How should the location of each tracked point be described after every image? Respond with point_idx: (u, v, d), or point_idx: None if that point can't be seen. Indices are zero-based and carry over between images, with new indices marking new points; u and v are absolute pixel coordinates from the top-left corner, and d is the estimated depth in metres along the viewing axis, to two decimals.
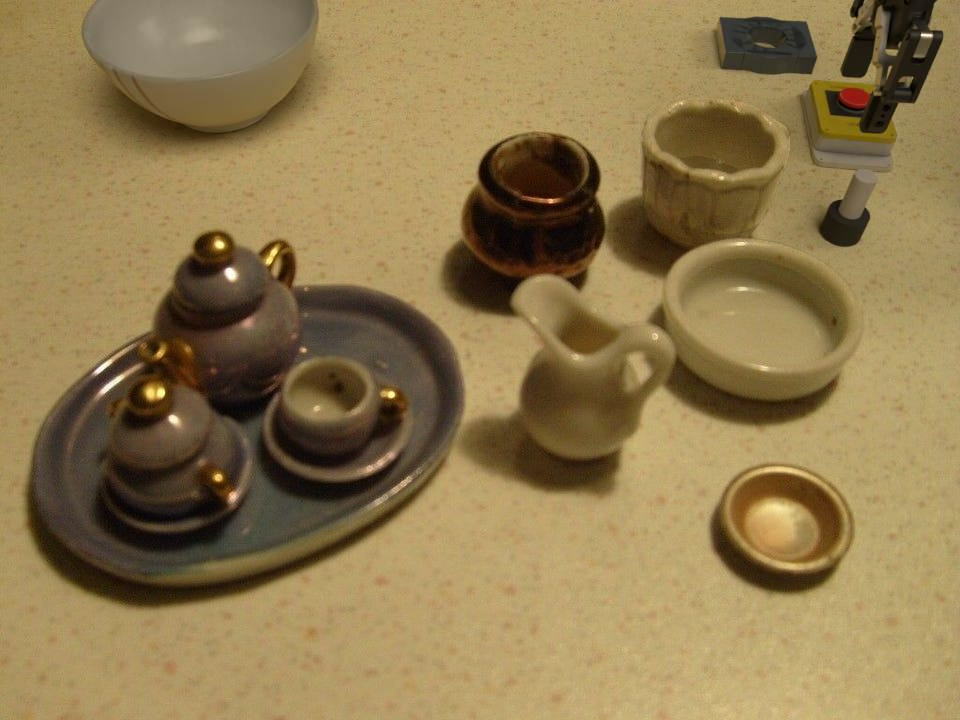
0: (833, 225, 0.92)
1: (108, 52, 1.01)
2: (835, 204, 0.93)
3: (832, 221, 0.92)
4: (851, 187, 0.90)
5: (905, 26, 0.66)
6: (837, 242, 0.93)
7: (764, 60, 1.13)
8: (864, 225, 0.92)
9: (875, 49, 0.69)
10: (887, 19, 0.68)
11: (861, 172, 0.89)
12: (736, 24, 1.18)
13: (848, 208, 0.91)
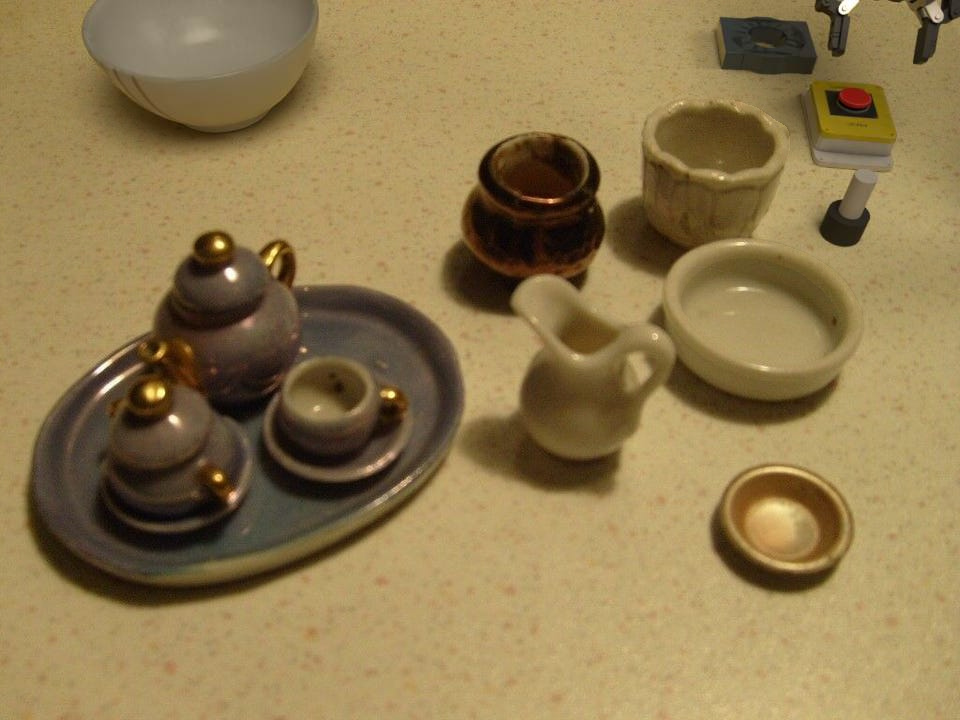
0: (833, 225, 0.92)
1: (108, 52, 1.01)
2: (835, 204, 0.93)
3: (832, 221, 0.92)
4: (851, 187, 0.90)
5: None
6: (837, 242, 0.93)
7: (764, 60, 1.13)
8: (864, 225, 0.92)
9: None
10: None
11: (861, 172, 0.89)
12: (736, 24, 1.18)
13: (848, 208, 0.91)
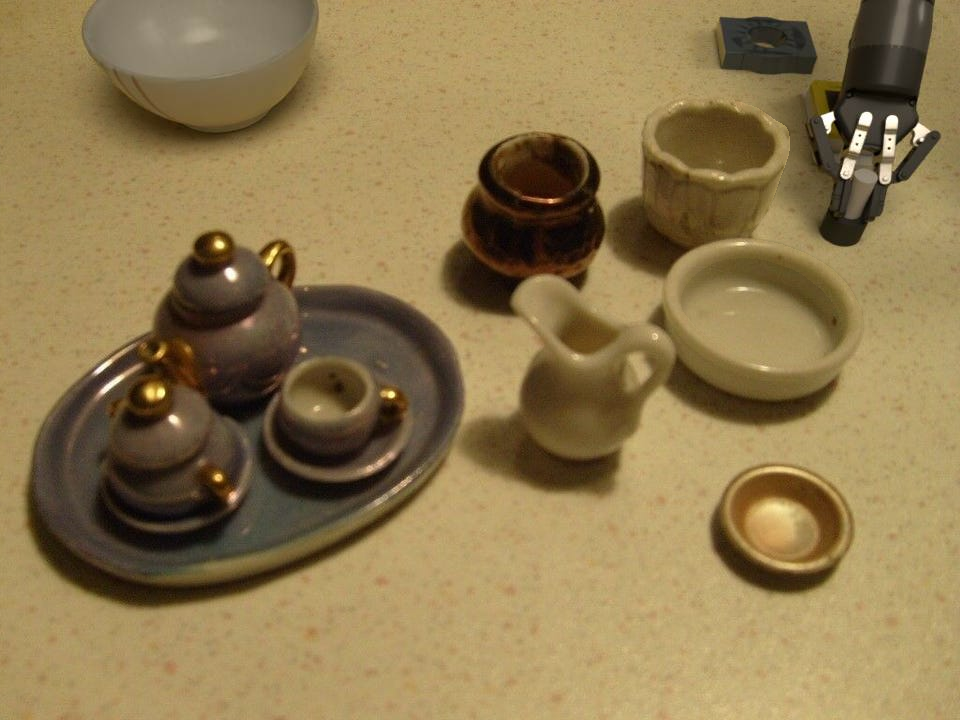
0: (833, 224, 0.92)
1: (108, 52, 1.01)
2: None
3: (832, 221, 0.92)
4: (851, 187, 0.90)
5: None
6: (837, 242, 0.93)
7: (764, 60, 1.13)
8: (864, 225, 0.92)
9: None
10: None
11: (861, 172, 0.89)
12: (736, 24, 1.18)
13: (848, 208, 0.91)
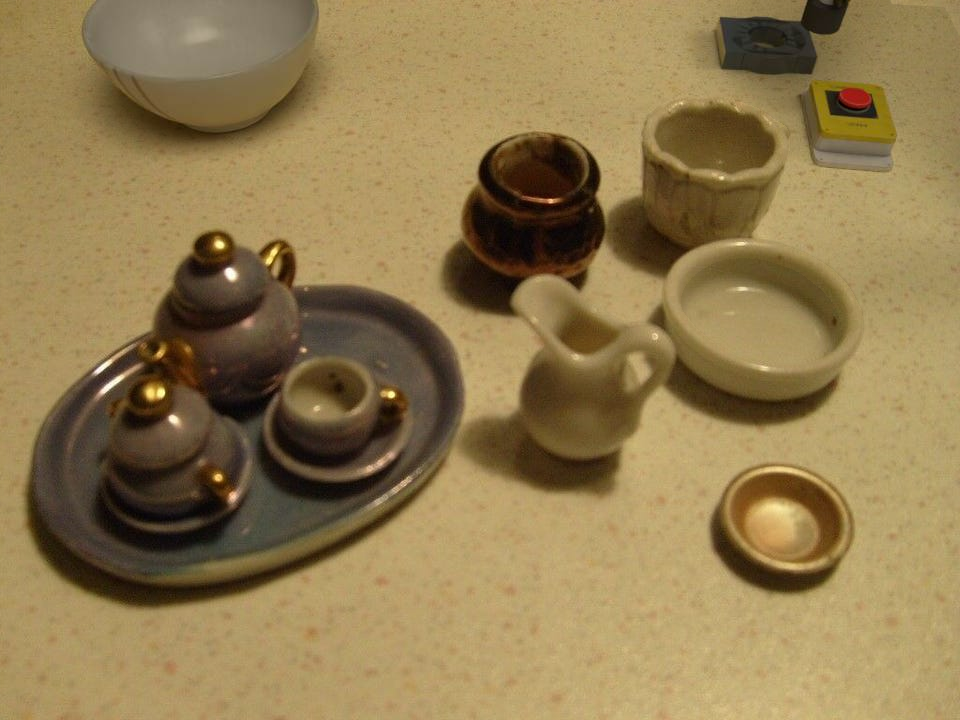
0: (807, 7, 0.96)
1: (108, 52, 1.01)
2: None
3: (807, 2, 0.96)
4: None
5: None
6: (809, 27, 0.97)
7: (764, 60, 1.13)
8: (835, 11, 0.95)
9: None
10: None
11: None
12: (736, 24, 1.18)
13: None
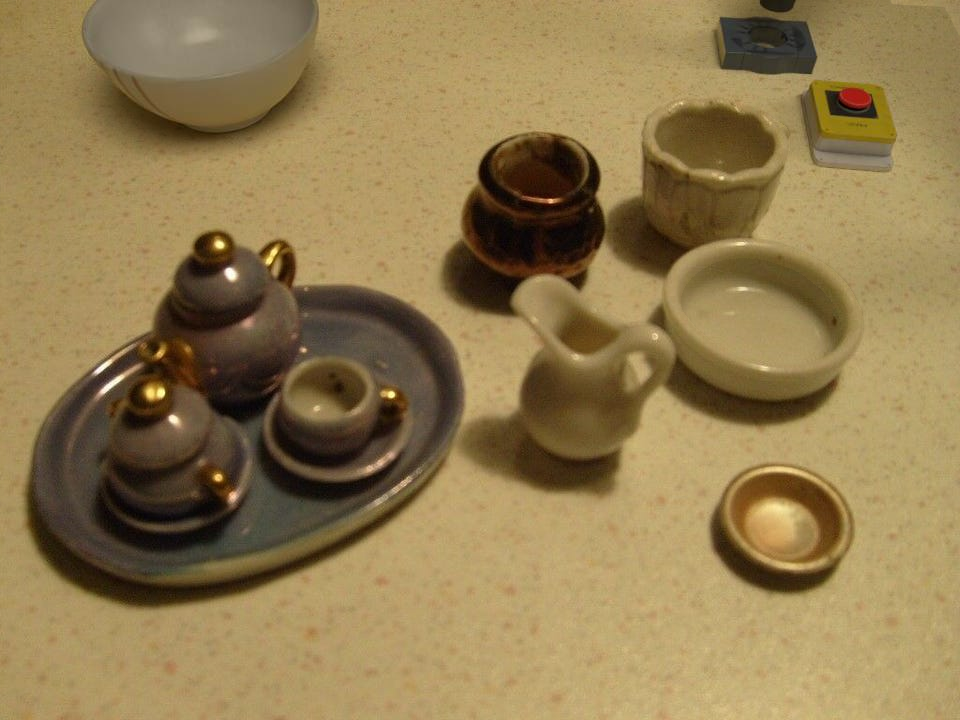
0: None
1: (108, 52, 1.01)
2: None
3: None
4: None
5: None
6: (762, 3, 1.11)
7: (764, 60, 1.13)
8: None
9: None
10: None
11: None
12: (736, 24, 1.18)
13: None
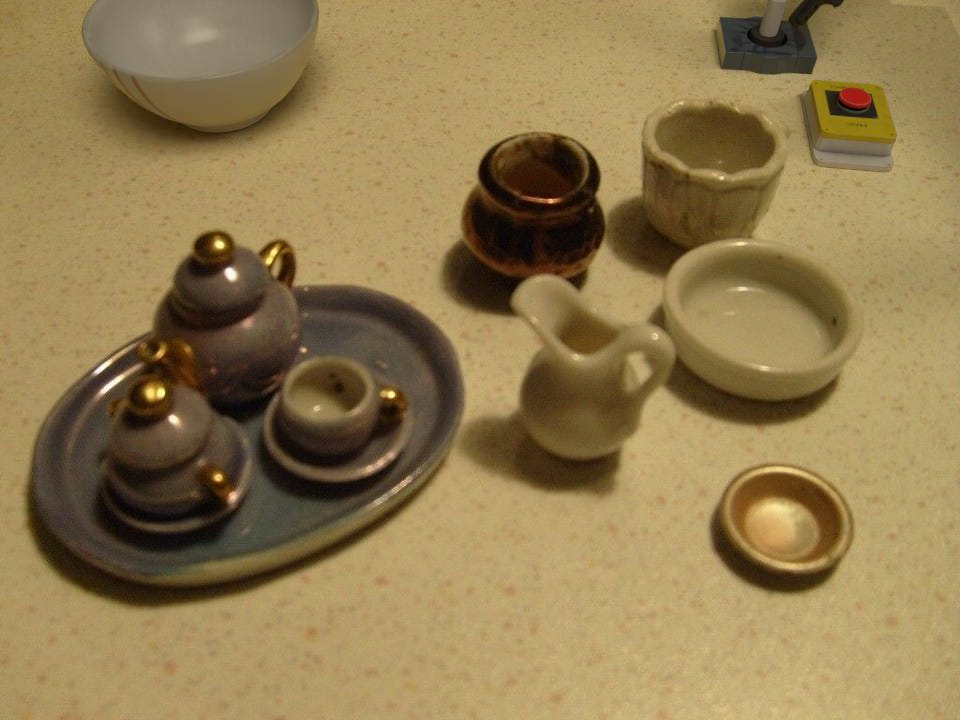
0: None
1: (108, 52, 1.01)
2: None
3: None
4: None
5: None
6: None
7: (764, 60, 1.13)
8: (766, 42, 1.14)
9: None
10: None
11: None
12: (736, 24, 1.18)
13: (761, 23, 1.14)
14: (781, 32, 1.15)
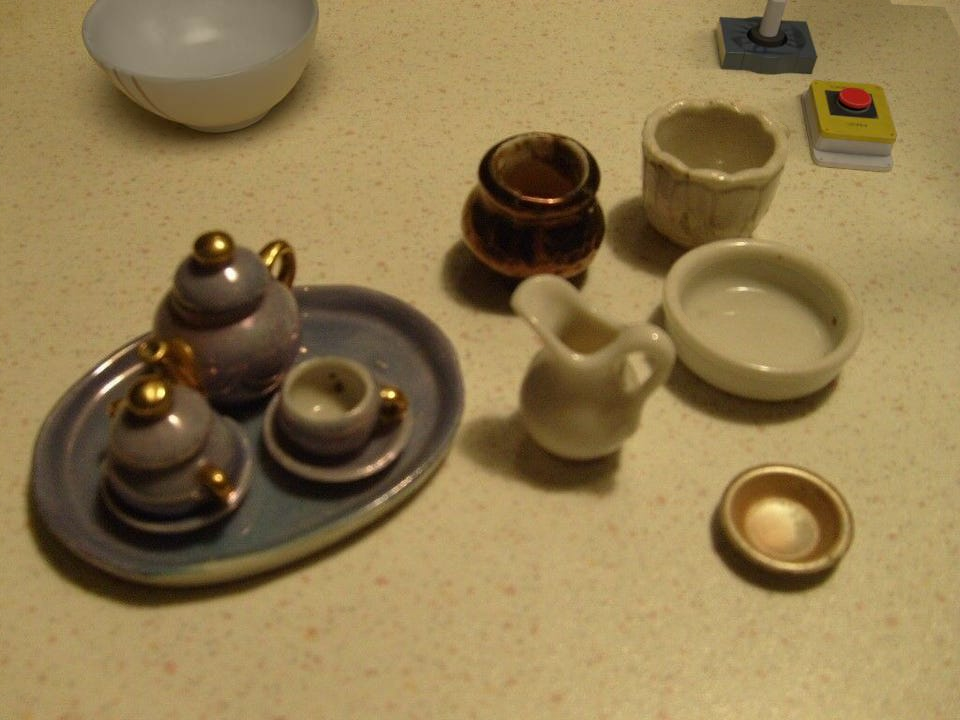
0: None
1: (108, 52, 1.01)
2: None
3: None
4: None
5: None
6: None
7: (764, 60, 1.13)
8: (766, 42, 1.14)
9: None
10: None
11: None
12: (736, 24, 1.18)
13: (761, 23, 1.14)
14: (781, 32, 1.15)
